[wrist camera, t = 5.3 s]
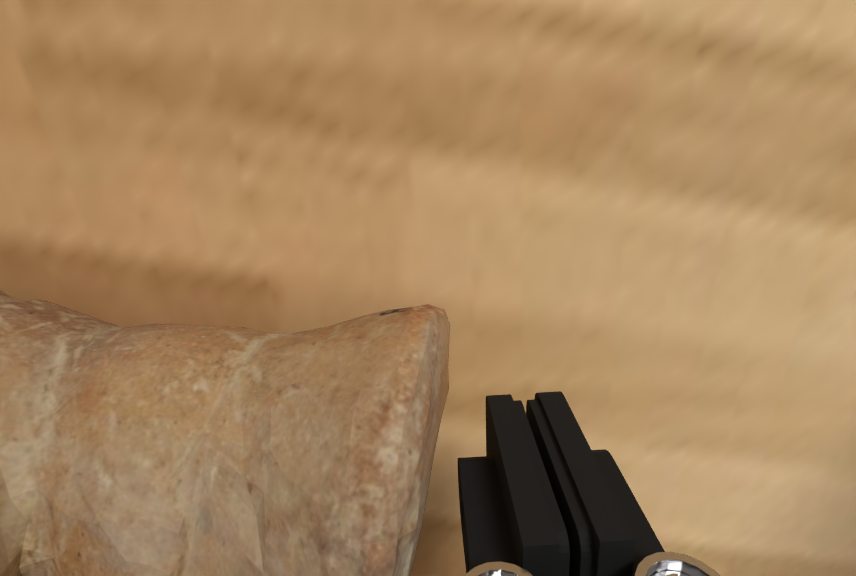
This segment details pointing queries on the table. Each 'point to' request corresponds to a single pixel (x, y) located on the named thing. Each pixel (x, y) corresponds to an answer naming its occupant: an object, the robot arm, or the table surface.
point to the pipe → (216, 444)
